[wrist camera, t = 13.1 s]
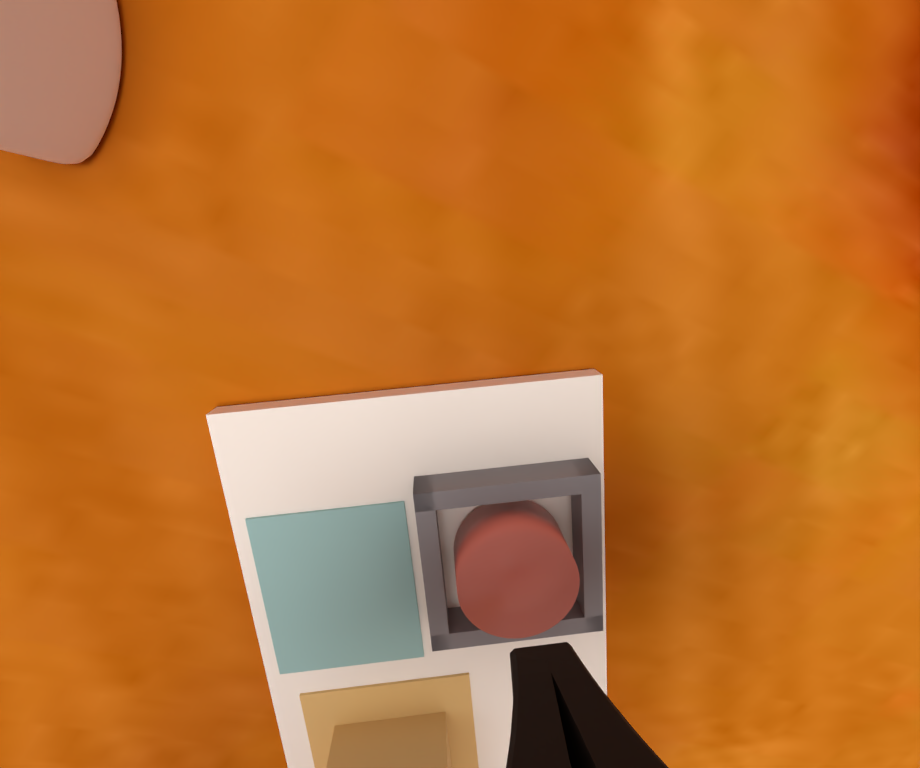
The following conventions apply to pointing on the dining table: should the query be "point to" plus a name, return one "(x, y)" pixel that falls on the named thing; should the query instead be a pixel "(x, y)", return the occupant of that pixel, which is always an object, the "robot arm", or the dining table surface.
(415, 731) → the ochre block
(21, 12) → the eye dropper bottle
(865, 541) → the dining table surface
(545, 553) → the button
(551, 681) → the robot arm
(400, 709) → the white board with squares
